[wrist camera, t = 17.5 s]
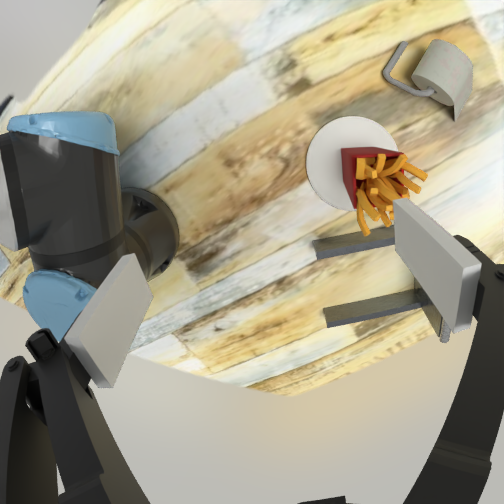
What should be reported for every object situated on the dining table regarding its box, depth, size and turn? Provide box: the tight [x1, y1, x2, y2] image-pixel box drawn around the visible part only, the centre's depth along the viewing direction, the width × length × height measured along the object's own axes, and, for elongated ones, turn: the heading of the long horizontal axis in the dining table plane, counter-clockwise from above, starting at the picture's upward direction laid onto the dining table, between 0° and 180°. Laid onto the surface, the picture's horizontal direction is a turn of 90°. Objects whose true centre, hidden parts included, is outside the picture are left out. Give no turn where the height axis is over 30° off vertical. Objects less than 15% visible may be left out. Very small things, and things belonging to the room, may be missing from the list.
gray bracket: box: [313, 225, 451, 343], centre depth 45 cm, size 19×14×14 cm
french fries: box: [341, 147, 428, 236], centre depth 37 cm, size 9×8×15 cm
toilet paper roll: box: [383, 39, 473, 121], centre depth 35 cm, size 10×11×12 cm
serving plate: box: [306, 116, 398, 211], centre depth 44 cm, size 14×14×1 cm
